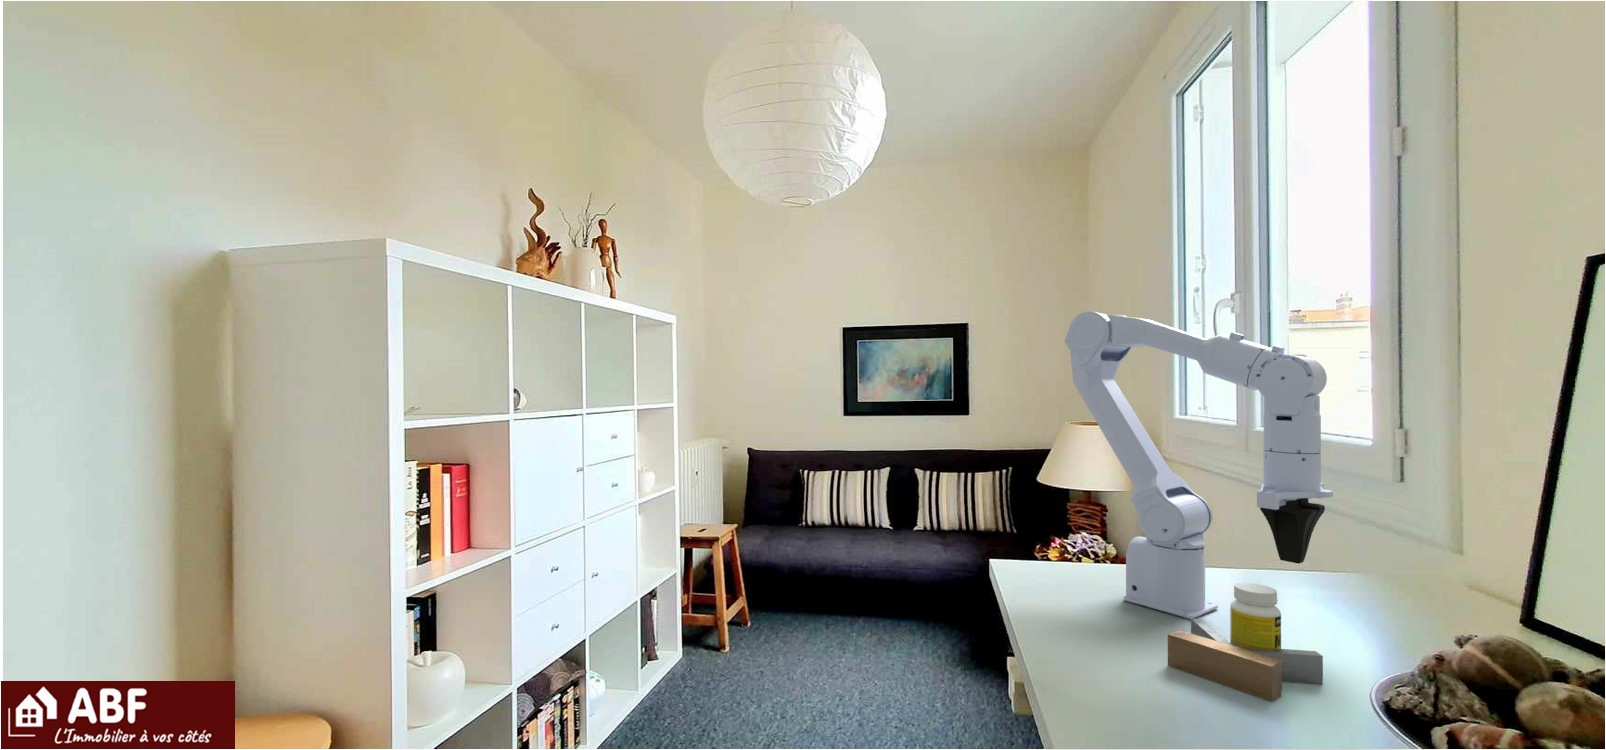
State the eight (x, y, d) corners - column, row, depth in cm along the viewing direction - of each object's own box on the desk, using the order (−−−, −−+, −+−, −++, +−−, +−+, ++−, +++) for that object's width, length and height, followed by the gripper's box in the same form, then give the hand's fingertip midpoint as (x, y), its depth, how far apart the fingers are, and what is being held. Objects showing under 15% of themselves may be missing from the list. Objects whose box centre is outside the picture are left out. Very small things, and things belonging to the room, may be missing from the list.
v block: (1154, 660, 74) (1154, 629, 74) (1194, 641, 79) (1194, 612, 79) (1290, 708, 63) (1290, 672, 63) (1325, 682, 69) (1325, 649, 69)
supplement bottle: (1285, 675, 70) (1285, 597, 71) (1233, 666, 73) (1232, 590, 73) (1276, 658, 75) (1276, 584, 75) (1227, 650, 77) (1227, 579, 77)
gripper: (1306, 458, 74) (1306, 578, 74) (1353, 451, 82) (1353, 559, 82) (1237, 452, 80) (1237, 564, 80) (1287, 446, 88) (1287, 547, 88)
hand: (1291, 561), depth 81 cm, fingers closed
